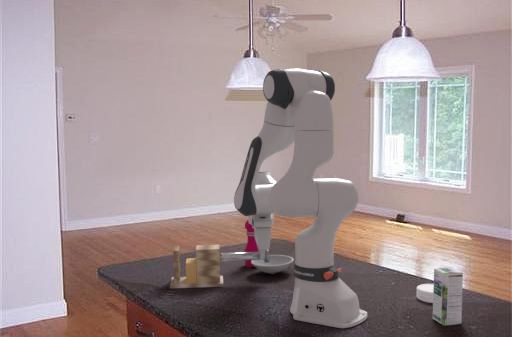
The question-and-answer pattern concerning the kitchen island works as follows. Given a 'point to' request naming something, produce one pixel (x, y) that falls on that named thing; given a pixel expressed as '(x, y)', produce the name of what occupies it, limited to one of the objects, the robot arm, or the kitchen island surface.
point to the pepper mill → (250, 242)
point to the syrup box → (447, 296)
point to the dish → (273, 263)
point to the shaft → (243, 256)
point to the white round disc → (425, 292)
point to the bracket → (200, 268)
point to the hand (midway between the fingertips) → (261, 257)
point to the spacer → (191, 271)
